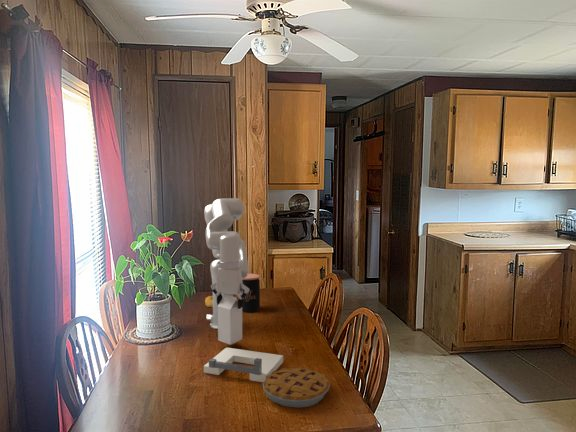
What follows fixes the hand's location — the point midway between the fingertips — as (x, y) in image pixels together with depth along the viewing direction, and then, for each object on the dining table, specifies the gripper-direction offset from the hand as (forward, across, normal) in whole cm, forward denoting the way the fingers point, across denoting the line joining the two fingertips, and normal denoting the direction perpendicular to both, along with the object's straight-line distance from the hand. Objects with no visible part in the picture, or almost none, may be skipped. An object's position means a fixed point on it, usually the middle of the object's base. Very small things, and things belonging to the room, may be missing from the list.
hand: (230, 306), depth 184 cm
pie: (+16, +38, -28) cm, 50 cm away
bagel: (+19, -33, +49) cm, 62 cm away
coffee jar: (+19, -12, +48) cm, 53 cm away
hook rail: (+14, +14, -24) cm, 31 cm away
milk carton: (+15, 0, 0) cm, 15 cm away
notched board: (+17, +14, -16) cm, 27 cm away
